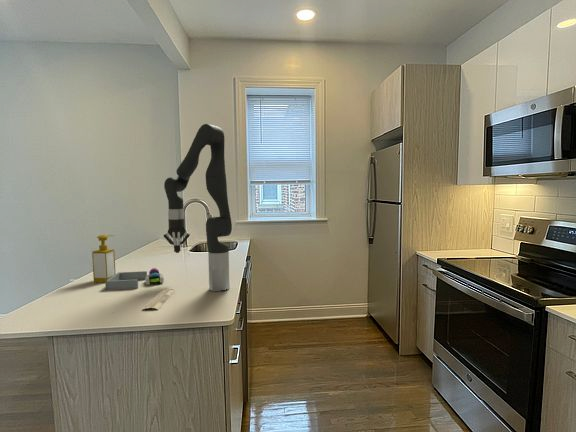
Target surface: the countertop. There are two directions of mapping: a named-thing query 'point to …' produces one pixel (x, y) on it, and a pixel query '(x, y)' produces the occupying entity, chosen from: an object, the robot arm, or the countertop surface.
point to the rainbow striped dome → (154, 276)
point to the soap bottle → (103, 261)
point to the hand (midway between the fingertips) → (177, 252)
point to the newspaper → (159, 299)
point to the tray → (125, 280)
